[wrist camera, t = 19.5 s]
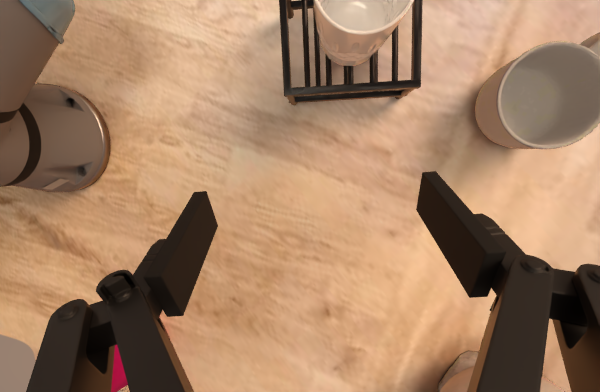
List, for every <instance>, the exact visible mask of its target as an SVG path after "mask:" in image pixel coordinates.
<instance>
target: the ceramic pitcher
mask: <svg viewBox="0 0 600 392" xmlns="http://www.w3.org/2000/svg"><path fill="white" fill-rule="evenodd" d="M478 353H479V352H474V351H467V352H465V353H463V354H461V355H460V356H459V358H458V359H457V360H456V361H455V363H454V364H453V365H452V366H451V368H450V369H449V370H448V372H447V373H446V374H445V376H444V377H443V379H442V380H441V382H440V383H439V385H438V392H467V390H468V386H469V383H470V380H471V376H472V373H473V370H474V366H475V363H476V360H477V356H478ZM540 392H565V391H564V390H562V389H561V388H560V387H558V386H557V385H556V384H554V383H553V382H551V381H549V380H547V379H545V378H543V377H542V379H541V387H540Z"/></svg>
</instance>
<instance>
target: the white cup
mask: <svg viewBox="0 0 600 392" xmlns="http://www.w3.org/2000/svg"><path fill="white" fill-rule="evenodd" d="M413 2H414V0H313V4H314V11H315V19H316V25H317V31H318V34H319V37H320V43H321V47H322V49H323V50H324V52H325V53H326V55H327V56H328V58H329V59H330V60H332V61H334V62H336V63H337V64H339V65H341V66H356V65H358V64H361V63H363V62H365V61H368V60H369V59H370V58H371V56H372V55H373V54H374V53H375V52H376V51H377V50H378V49H379V48H380V47H381V46H382V44H383V43H384V42H385V41H386V39H387V38H388V37H389V36H390V35H391V33H392V32H393V30H394V29H395V28H396V26H397V25H398V23H399V22H400V21H401V19H402V18H403V16H404V15H405V14H406V12H407V11H408V10H409V8H410V7H411V5H412V4H413Z"/></svg>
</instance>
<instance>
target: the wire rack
mask: <svg viewBox="0 0 600 392" xmlns="http://www.w3.org/2000/svg"><path fill="white" fill-rule="evenodd" d="M279 6H280V25H281V44H282V62H283V81H284V96H285V97H287V98H288V100H289V103H291V104H292V105H296V104H297V103H301V102H317V101H334V100H350V99H366V98H382V97H395V98H396V99H400V98H402V97H403V96H406V95H407V94H408V93H409V92H411V91H412V90H414V89H418V88H420V87H421V42H422V0H414V2H413V4H412V65H411V80H403V81H398V25H397V26H396V28H395V29H394V30H393V32H392V81H388V82H378V50H377V51H376V52H375V53H374V54H373V55H372V56H371V58H370V83H358V84H353V66H344V84H342V85H332V73H331V60H330V59H329V58H328V56H327V55H326V86H321V80H320V50H319V34H318V31H317V25H316V19H315V11H314V4H313V0H301V1H291V0H279ZM308 8H313V15H314V43H315V71H316V86H312V87H310V62H309V36H308V10H307V9H308ZM297 9H302V23H303V47H304V72H305V87H297V88H291V69H290V49H289V29H288V18H289V19H291V18H292V17H293V16H294V13H293V10H297ZM325 54H326V53H325ZM386 90H389V91H386ZM370 91H373V92H370ZM355 92H357V93H355ZM339 93H342V94H339ZM323 94H326V95H323ZM307 95H310V96H307Z"/></svg>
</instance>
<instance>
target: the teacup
mask: <svg viewBox="0 0 600 392" xmlns="http://www.w3.org/2000/svg"><path fill="white" fill-rule="evenodd" d="M475 115H476V121H477V123H478V126H479V128H480V130H481V131H482V132H483V134H484V135H485V136H486V137H487V138H488V139H490V140H491V141H493V142H494V143H497V144H499V145H501V146H504V147H509V148H518V149H555V148H560V147H565V146H568V145H571V144H573V143H575V142H577V141H579V140H581V139H583V138H584V137H585V136H587V135H588V134H589V133H591V132H592V131H593V129H595V128H596V127H597V126H598V124H599V123H600V33H597V34H595V35H593V36H592V37H590V38H588V39H586V40H585V41H583V42H582V43H581V44H577V43H573V42H566V41H556V42H549V43H545V44H542V45H539V46H536V47H534V48H532V49H530V50H529V51H527V52H525V53H524V54H522V55H521V56H520V57H518V58H516V59H515V60H513V61H511V62H510V63H508V64H507V65H505V66H504V67H502V68H501V69H499V70H498V71H497V72H495V73H494V74H493V75H492V76H491V77H490V78H489V79H488V80H487V81H486V83H485V84H484V85H483V87H482V88H481V90H480V92H479V94H478V97H477V100H476V106H475Z"/></svg>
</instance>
